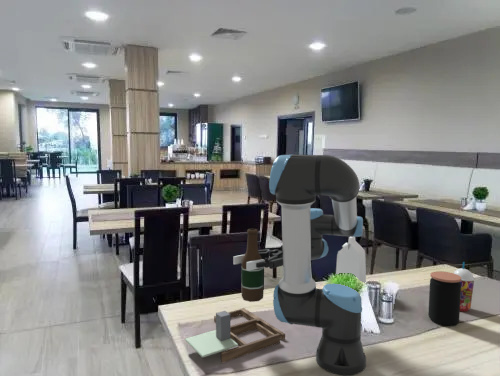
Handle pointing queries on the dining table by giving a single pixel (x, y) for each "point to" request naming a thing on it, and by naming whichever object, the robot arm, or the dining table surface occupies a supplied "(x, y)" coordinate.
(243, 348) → the brown flat frame
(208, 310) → the dining table surface
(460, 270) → the smoothie
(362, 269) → the milk
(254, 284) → the beer bottle
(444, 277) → the coffee jar
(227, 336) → the cover
